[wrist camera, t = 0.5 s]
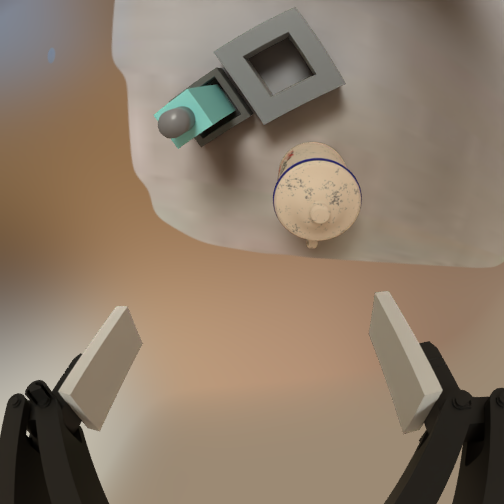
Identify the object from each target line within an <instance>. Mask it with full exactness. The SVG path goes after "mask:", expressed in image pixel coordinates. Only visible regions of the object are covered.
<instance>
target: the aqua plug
mask: <svg viewBox="0 0 504 504" xmlns="http://www.w3.org/2000/svg"><path fill="white" fill-rule="evenodd" d="M235 110H236V109H235V108H234V106H233V105H232V103H231V102H230V100H229V99H228V97H227V96H226V95H225V93H224V92H223V90H222V89H221V88H220V86H219V85H218V84H216V85H209V86H202V87H195V88H189V89H186V90H185V91H184V92H182V93H181V94H180V95H178V96H177V97H176V98H174V99H173V100H172V101H171V102H169V103H168V104H167V105H165V106H164V107H163V108H162V109H160V110H159V111H158V112H157V113H156V114H154V117H155V118H156V119H157V121H158V128H159V131H160V132H161V134H162V135H163V136H165V137H167V138H171V140H172V141H173V143H174V144H175V145H176V147H177V148H178V149H179V148H180V147H181V146H183V145H184V144H186V143H187V142H188V141H190V140H191V139H193V138H194V137H196V136H197V135H198V134H200V133H201V132H203V131H204V130H206V129H207V128H209V127H210V126H212V125H213V124H215V123H216V122H218V121H219V120H221V119H223V118H224V117H226V116H227V115H229V114H230V113H232V112H234V111H235Z"/></svg>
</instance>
